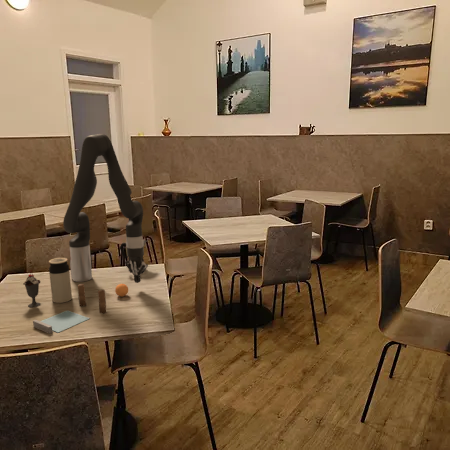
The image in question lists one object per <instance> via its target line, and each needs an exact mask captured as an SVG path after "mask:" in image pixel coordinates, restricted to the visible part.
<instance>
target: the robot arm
mask: <svg viewBox="0 0 450 450" xmlns="http://www.w3.org/2000/svg"><path fill="white" fill-rule="evenodd" d="M116 154H117V153H116V152H115V149H114V146H113V144H112V141H111V138H110V137H109V136H107V134H105V133H97V134H91V135H87V136H86V137H85V138H84V139H83V142H82V146H81V153H80V161H79V166H78V170H77V173H76V178H75V181H74V185H73V189H72V190H73V191H72V194H71V198H70V200H69V204H68V207H67V210H66V211H65V215H64V216H63V221H62V222H63V223H62V224H63V230H64V231H65V232H66V233H68V234H75V233H76V234H75V236H73V237H72V238H70V239H69V243H68V245H69V255H70V260H69V268H70V279H72V281H73V282H77V283H80V282H81V283H83V282H87V281H90V280H92V279H93V273H92V259H91V248H90V240H91V231H90V230H91V227H90V226H91V223H90V218H89V216H88V214H87V213H86V212H84V211H82V210H83V209H84V208H85V206H86V205H88V203H89V201H91V199H92V198H93V196H95V195H94V194H95V192H96V188H97V184H98V179H97V175H96V172H95V165H96V162H97V159H98V157H101V156H102V158H103V159H104V161H105V163H106V166H107V174H108V175H107V176H108V177H107V178H108V182H109V186H110V187H111V189H112V191H113V194H114V195H115V196H116V199H117V203H118V207H119V210H120V212H121V214H122V215H123V216H124V217H125V218H126V219H128V221H127V223H126V225H125V236H126V237H125V238H126V239H125V243H126V246H125V247H126V256H128V258H127V260H126V261H125V262H124V264H125V266H126V268H127V269H128V271H129V273H132V274H133V281H134V283H136V284H139V283H141V281H142V280H141V275H142V274H144V273H145V271H146V269H147V268H148V267H149V265H148V263H146V262H145V259H144V255H145V245H143V240H144V238H143V229H142V228H143V227H142V226H143V225H142V224H143V218H144V208H143V205H142V203H141V202H140V201H138V200H132V199H133V198H132V189H131V187H130V185H129V183H128V181H127V180H126V178H125V176H124V173H123V171H122V168H121V166H120V164H119V160H118V158H117V155H116ZM138 271H139V272H138Z"/></svg>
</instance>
